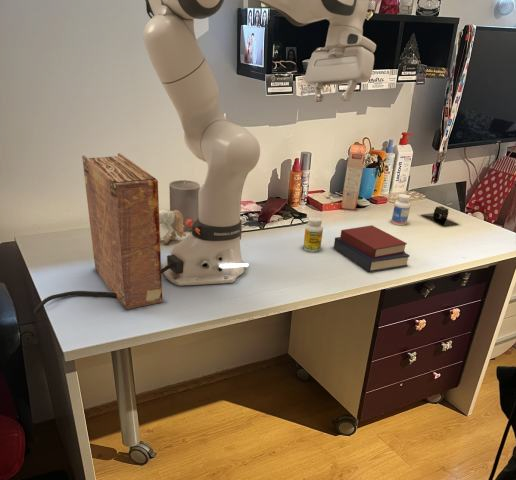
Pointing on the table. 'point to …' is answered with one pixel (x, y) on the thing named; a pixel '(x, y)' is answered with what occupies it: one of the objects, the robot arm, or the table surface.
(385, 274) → the table surface
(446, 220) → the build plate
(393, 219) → the pill bottle
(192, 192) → the pillar candle
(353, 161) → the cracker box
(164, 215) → the unicorn figurine
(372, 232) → the book stack
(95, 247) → the book
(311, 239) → the supplement bottle
